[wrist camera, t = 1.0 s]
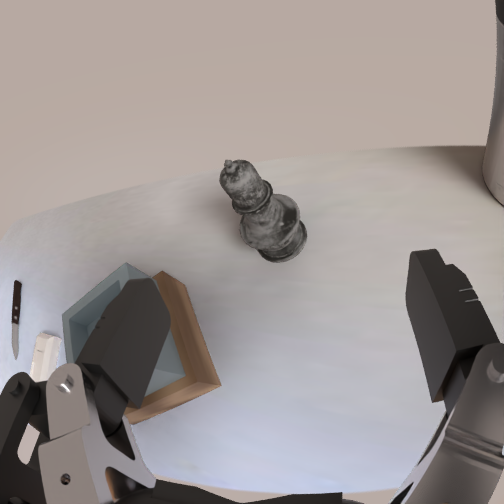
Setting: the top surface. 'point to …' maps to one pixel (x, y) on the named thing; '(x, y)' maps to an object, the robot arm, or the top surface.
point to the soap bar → (45, 357)
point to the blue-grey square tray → (89, 312)
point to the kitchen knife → (16, 317)
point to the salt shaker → (263, 213)
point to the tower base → (190, 352)
